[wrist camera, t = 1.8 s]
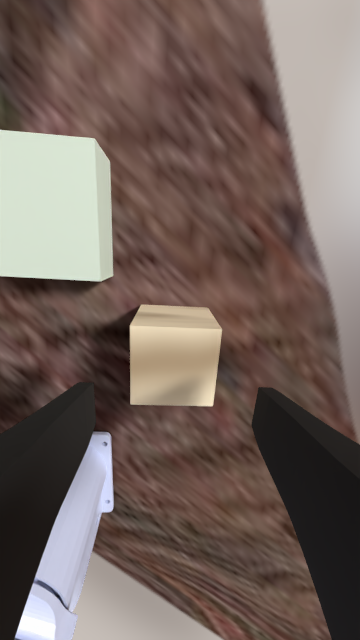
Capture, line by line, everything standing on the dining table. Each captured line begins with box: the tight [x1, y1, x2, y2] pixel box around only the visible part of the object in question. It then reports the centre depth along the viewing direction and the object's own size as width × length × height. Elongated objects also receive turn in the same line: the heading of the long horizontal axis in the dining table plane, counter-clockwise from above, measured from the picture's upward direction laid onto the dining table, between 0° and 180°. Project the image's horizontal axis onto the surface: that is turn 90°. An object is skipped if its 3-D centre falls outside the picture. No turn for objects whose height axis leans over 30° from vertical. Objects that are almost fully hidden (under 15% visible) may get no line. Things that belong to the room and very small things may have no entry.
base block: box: [0, 130, 113, 281], centre depth 13 cm, size 7×7×3 cm
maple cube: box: [130, 305, 222, 406], centre depth 15 cm, size 5×5×5 cm
